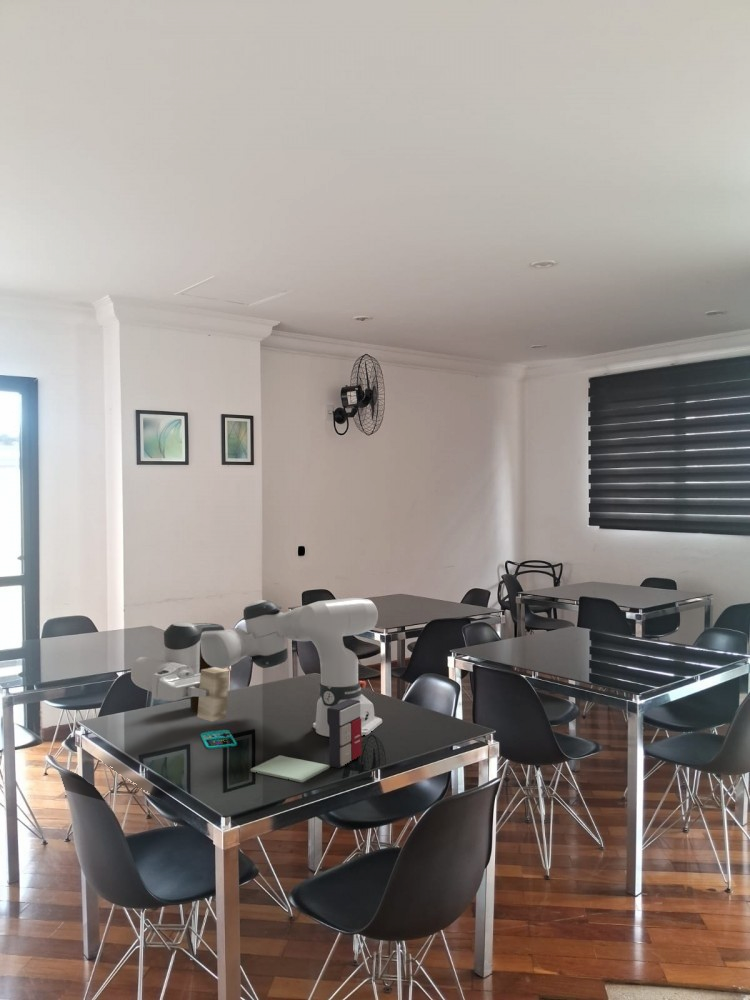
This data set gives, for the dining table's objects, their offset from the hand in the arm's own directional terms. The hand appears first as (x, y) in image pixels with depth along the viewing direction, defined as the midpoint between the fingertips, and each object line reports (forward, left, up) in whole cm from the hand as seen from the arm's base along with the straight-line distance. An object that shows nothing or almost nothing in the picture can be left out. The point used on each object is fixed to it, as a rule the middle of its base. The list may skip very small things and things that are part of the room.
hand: (216, 691), depth 198 cm
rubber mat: (-10, +16, -20) cm, 27 cm away
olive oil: (-44, -44, -20) cm, 66 cm away
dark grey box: (-22, +25, -20) cm, 39 cm away
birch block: (0, -1, -7) cm, 7 cm away
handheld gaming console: (-20, -18, -21) cm, 34 cm away
